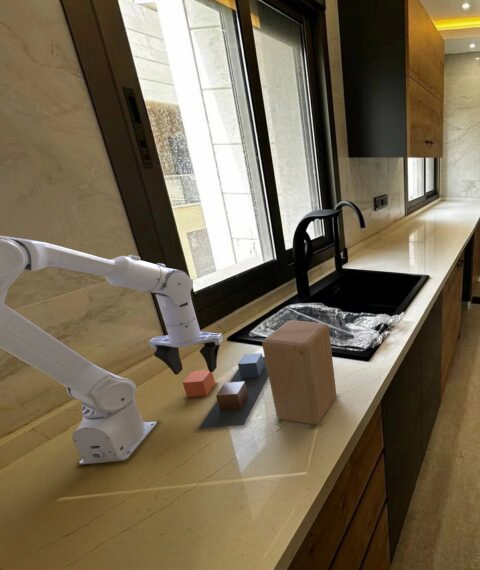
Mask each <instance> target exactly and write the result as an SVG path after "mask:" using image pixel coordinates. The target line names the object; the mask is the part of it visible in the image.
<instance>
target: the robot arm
mask: <svg viewBox="0 0 480 570" xmlns="http://www.w3.org/2000/svg"><path fill="white" fill-rule="evenodd" d="M47 267H54V268H59V269H65V270H70V271H75V272H81V273H86V274H92V275H97V276H103V278H104V279H105V280H106V282H107V283H108V284H109V285H111V286H113V287H121V288H126V289H130V290H131V289H132V290H136V291H141V292H147V293H152V294H155V298H156V300H157V303H158V306H159V310H160V313H161V316H162V320H163V322H164V325H165V329H166V333H167V334H166V335H161V336H153V338H151V339H150V340H148V343H149V347H150V350H152V349H153V350H154V349H156V350H155V351H154V352H153V355H154V357H155V358H157V359H159V360H161V361H162V362H163V363H164V364H165V365H166V366H167V367H168V368H169V369H170V370H171V372H172V373H173V374H174V375H179V374H180V373H181V371H183V363H182V359H181V357H180V350H179V349H180V348H185V347H190V346H195V345H197V346H198V345H199V346H200V345H203V346H202V347H201V349H199V353H200V354H201V356H202V357H203V359H204V361H205V363H206V366H207V370H209V372H212V373H214V372H215V371H216V369H217V367H218V366H217V365H218V363H217V361H218V354H219V349H220V346H221V344H222V343H223V342H224V337H223V333H221V332H220V333H217V332H216V333H215V332H207V331H201V329H200V325H199V322H198V318H197V315H196V311H195V308H194V304H193V300H192V295H191V292H192V289H193V286H194V279H192V278H190V276H189V274H187V273H186V271H183V270H181V269H180V270H179V269H175V268H169V267H166V264H165V263H161V262H157V263H152V262H148V261H145V260H141V257H140V256H139V255H138V256H137V255H134V254H129V255H128V256H126V255H120V256H119V255H118V256H117V257H114V258H111V259H108V258H104V257H100V256H96V255H94V254H89V253H86V252H82V251H79V250H75V249H72V248H67V247H64V246H61V245H56V244H53V243H49V242H44V241H41V240H33V239H26V238H21V237H12V236H6V235H0V349H1V350H4V351H5V352H7V353H9V354H10V355H12V356H14V357H15V358H17V359H19V360H20V361H23V362H24V363H25V364H27V365H29V366H31V367H33V368H34V369H36V370H38V371H39V372H41V373H43V374H45V375H46V376H48V377H50V378H52V379H53V380H55V381H57V383H59V385H62V386H64V388H65V389H66V392H67V395H68V396H69V397H70V398H71V399H73V400H75V401H78V402H81V415H82V419H81V422H80V424H79V425H78V426H77V428H76V429H75V431H73V433H72V438H71V439H72V442H73V443H74V445H75V448H76V450H77V451H78V454H79V455H80V457H81V460H79V465H90V464H102V463H112V462H123V461H126V460H127V459H129V458H130V457H131V455H132V454H133V453H134V451H135V450H136V449H137V448H138V447H139V446H140V445H141V444H142V442H143V441H144V440H145V438H147V436H148V435H149V434H150V432H152V430H153V429H154V428H155V427H156V426H157V424H158V422H157V421H144V420H143V416H142V414H141V412H140V409H139V407H138V405H137V402H136V398H135V396H136V394H137V385H136V383H135V382H134V381H133V380H132V379H130V378H127V377H122V376H120V375H117V374H115V373H112V372H110V371H109V370H107V369H106V368H103V367H99V366H97V365H96V364H94V363H92V362H91V361H90V360H88V359H86V358H85V357H83V356H82V355H81V354H80V353H78V352H76V351H75V350H74V349H71V348H70V347H69V346H67V345H66V344H65V343H63V342H61V341H60V340H58V339H57V338H55V337H54V336H52V335H51V334H49V333H48V332H46V331H45V330H43V329H42V328H41V327H39V326H38V325H36V324H35V323H33V322H32V321H30V320H29V319H28V318H26V317H24V316H23V315H21V314H20V313H18V312H17V311H16V310H14V309H12V308H11V307H9V306H8V305H6V303H5V301H6V297H7V294H8V291H9V288H10V287H11V286H12V284H13V283H14V282H15V281H16V280H17V279H18V277H19V276H20V275H21V274H22V273H23V271H28V272H36V271H39V270H42V269H45V268H47Z"/></svg>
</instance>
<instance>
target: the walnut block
mask: <svg viewBox="0 0 480 570" xmlns="http://www.w3.org/2000/svg"><path fill="white" fill-rule="evenodd" d="M215 397H216V402H217V401H218V404H219V408H220V411H230V410H241V409H242V407H243V405H244V404H245V402H246V400H247V398H248V393H247V388H246V384H245V381H243V382H230V381H229V382H224V383H223V385H222V386H221V388H220V389H219V390H218V392H217V394H216V395H215Z"/></svg>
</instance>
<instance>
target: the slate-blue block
mask: <svg viewBox="0 0 480 570" xmlns="http://www.w3.org/2000/svg"><path fill="white" fill-rule="evenodd" d="M263 357H264V355H263V353H261V352H260V353H259V352H258V353H245V354H244V355H243V356H242V357H241V359H240V360H239V362H238V363H237V367H238V369H239V371H240V375H241V378H253V377H259V376H260V375H261V373H262V371H263V369H264V367H265V366H264V361H263Z"/></svg>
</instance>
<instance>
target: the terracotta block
mask: <svg viewBox="0 0 480 570" xmlns="http://www.w3.org/2000/svg"><path fill="white" fill-rule="evenodd" d="M182 385H183V388H184V392H185V395H186V398H190V397H191V398H193V397H205V396H208V395H209V394H210V392H211V391H212V389H213V388H214V387H215V385H216V381H215V378H214V372H209V370H208V369H206V370H192V371H191V372H190V373H189V374H188V376H186V378H185V379H184V380H183V382H182Z"/></svg>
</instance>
